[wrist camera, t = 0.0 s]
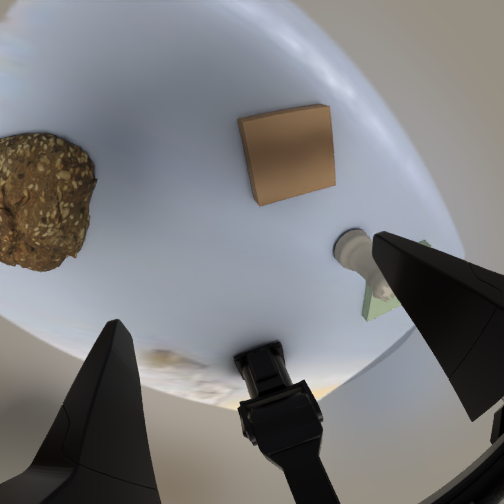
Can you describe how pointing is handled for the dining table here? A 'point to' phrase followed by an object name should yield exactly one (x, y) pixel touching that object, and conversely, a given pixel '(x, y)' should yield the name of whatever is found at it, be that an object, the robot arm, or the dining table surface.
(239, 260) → the dining table surface
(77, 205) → the bread roll
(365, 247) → the rook chess piece
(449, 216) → the dining table surface
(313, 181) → the walnut block
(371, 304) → the sage block
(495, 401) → the robot arm
